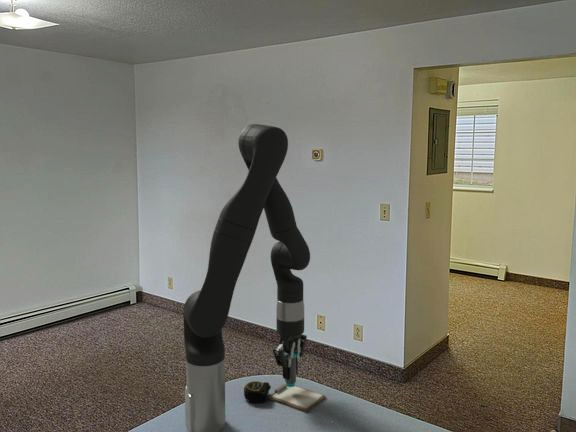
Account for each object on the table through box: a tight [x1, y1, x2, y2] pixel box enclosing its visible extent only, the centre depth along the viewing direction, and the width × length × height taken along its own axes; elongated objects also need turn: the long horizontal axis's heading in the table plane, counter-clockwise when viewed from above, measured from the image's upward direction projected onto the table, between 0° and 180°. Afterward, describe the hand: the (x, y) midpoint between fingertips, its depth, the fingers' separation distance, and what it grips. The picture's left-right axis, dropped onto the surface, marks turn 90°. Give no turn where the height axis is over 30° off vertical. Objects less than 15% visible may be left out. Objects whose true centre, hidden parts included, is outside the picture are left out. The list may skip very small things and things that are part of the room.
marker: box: [284, 352, 297, 387], centre depth 135 cm, size 3×3×9 cm
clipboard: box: [267, 383, 327, 414], centre depth 135 cm, size 12×10×2 cm
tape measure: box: [243, 380, 272, 403], centre depth 135 cm, size 7×7×4 cm
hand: (290, 375), depth 136 cm, fingers closed on marker, 3 cm apart
